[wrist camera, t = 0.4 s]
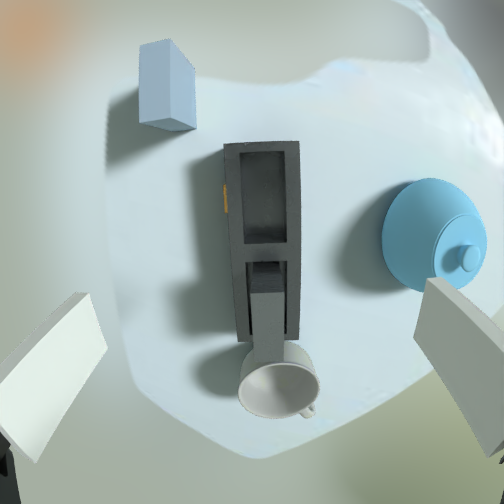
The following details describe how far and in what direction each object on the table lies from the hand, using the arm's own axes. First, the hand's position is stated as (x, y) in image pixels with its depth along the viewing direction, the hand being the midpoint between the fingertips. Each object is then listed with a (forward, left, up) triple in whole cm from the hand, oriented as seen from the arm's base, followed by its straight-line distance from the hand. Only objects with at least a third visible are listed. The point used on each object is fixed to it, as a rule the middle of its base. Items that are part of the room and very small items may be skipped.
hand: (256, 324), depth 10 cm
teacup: (+24, +2, -25) cm, 35 cm away
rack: (+4, 0, -25) cm, 25 cm away
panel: (-14, -9, -25) cm, 30 cm away
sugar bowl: (+4, +22, -25) cm, 34 cm away
